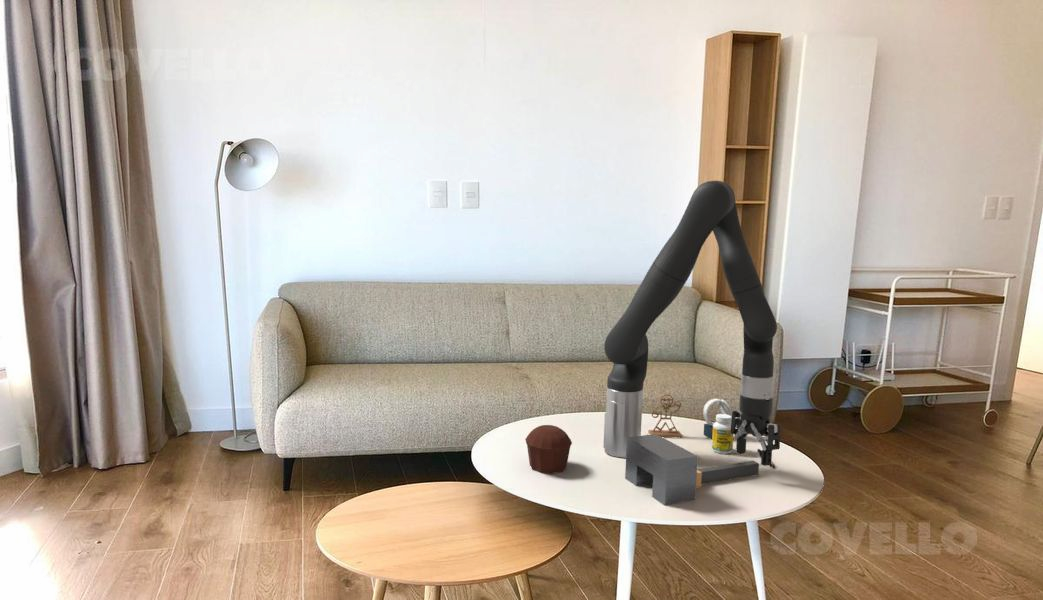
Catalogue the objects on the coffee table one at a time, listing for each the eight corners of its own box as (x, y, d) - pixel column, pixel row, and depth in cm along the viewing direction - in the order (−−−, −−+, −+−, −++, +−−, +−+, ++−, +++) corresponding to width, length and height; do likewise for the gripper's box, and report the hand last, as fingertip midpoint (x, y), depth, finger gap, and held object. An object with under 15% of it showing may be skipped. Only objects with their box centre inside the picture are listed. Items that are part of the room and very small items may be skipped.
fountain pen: (754, 450, 185) (755, 445, 185) (759, 450, 185) (759, 445, 185) (771, 470, 171) (772, 464, 171) (776, 470, 171) (777, 464, 171)
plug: (665, 483, 160) (666, 469, 159) (748, 470, 169) (749, 456, 169) (677, 490, 156) (678, 476, 155) (761, 477, 165) (762, 463, 165)
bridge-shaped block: (625, 478, 162) (626, 437, 161) (653, 474, 165) (655, 433, 164) (664, 505, 148) (667, 460, 146) (695, 500, 151) (697, 456, 149)
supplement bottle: (729, 448, 186) (732, 413, 184) (734, 454, 180) (736, 419, 179) (709, 447, 186) (711, 412, 185) (713, 453, 181) (715, 418, 179)
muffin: (580, 471, 166) (581, 431, 165) (540, 479, 161) (541, 437, 159) (554, 455, 176) (555, 417, 175) (516, 462, 171) (517, 423, 170)
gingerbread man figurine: (650, 437, 193) (652, 395, 192) (647, 433, 197) (649, 392, 195) (682, 438, 193) (684, 396, 192) (678, 433, 197) (681, 392, 195)
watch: (733, 439, 193) (736, 401, 192) (707, 441, 191) (710, 402, 190) (722, 433, 198) (725, 396, 197) (697, 434, 196) (700, 397, 195)
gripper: (724, 388, 169) (721, 451, 171) (765, 402, 156) (761, 471, 158) (748, 385, 172) (745, 448, 174) (790, 399, 159) (787, 467, 161)
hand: (753, 459), depth 166 cm, fingers open, 8 cm apart
